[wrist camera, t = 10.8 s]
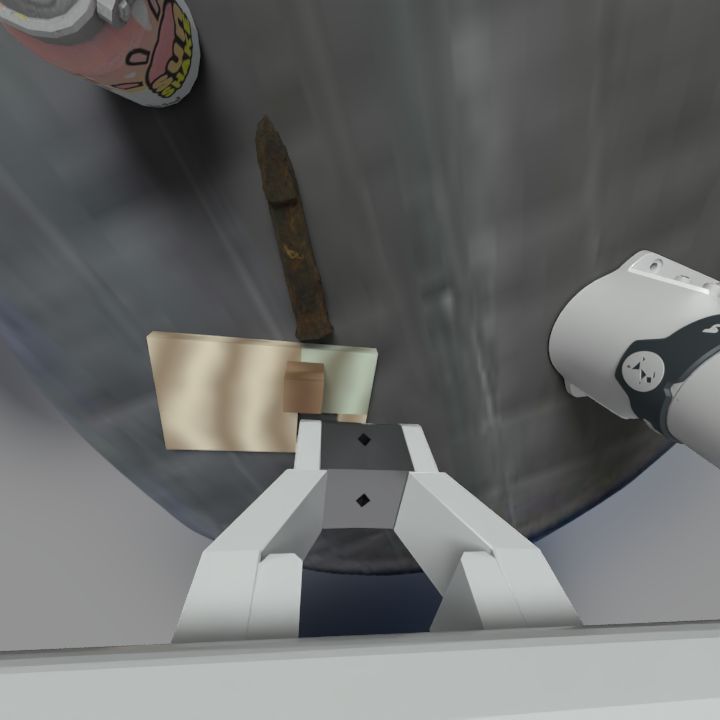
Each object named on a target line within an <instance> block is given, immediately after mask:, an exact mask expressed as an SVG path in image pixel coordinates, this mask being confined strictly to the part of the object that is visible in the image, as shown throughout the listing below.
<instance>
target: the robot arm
mask: <svg viewBox="0 0 720 720" xmlns="http://www.w3.org/2000/svg"><path fill="white" fill-rule="evenodd" d="M651 264H652V265H651ZM549 354H550V359H551V362H552V364H553V366H554V367H555V368H556V370H557V371H558V372H559V373H560V374H561V375H562V376H563V378H564V380H565V386H566V390H567V392H568V393H570V394H571V395H573V396H574V397H585V396H589V397H590V398H592V399H593V400H595V401H596V402H598V403H599V404H601V405H602V406H604V407H605V408H607V409H608V410H610V411H611V412H613V413H615V414H616V415H618V416H619V417H621V418H624V419H629V418H632V419H637V418H639V419H641V420H642V421H644V422H645V423H646V424H647V425H648V426H649V427H650V428H651V429H653V430H654V431H656V432H657V433H659V434H662V435H663V436H665V437H667V438H668V439H670V440H672V441H673V442H676V443H680V444H685V445H686V446H688V447H689V448H690V449H692V450H693V451H695V452H696V453H697V454H699V455H700V456H702V457H703V458H705V459H706V460H707V461H709V462H710V463H712V464H713V465H715V466H716V467H717V468H719V469H720V282H719V281H717V280H715V279H712V278H710V277H708V276H706V275H703V274H701V273H699V272H697V271H694V270H692V269H690V268H687V267H685V266H683V265H681V264H678V263H676V262H674V261H672V260H669V259H667V258H665V257H663V256H660V255H658V254H656V253H653V252H650V251H647V250H643V251H640V252H638V253H636V254H635V255H634V256H632V257H631V258H630V259H629V260H628V261H626V262H625V263H624V264H623V265H622V266H621V267H620V268H619V269H617V270H616V271H614V272H612V273H610V274H608V275H606V276H604V277H602V278H600V279H598V280H596V281H594V282H592V283H591V284H589V285H588V286H586V287H585V288H584V289H582V290H581V291H580V292H579V293H578V294H577V295H575V296H574V297H573V298H572V299H571V301H570V302H569V303H568V304H567V305H566V306H565V308H564V309H563V310H562V312H561V313H560V315H559V317H558V318H557V320H556V322H555V324H554V327H553V329H552V332H551V336H550V341H549ZM326 528H391V529H394V531H395V533H396V534H397V535H398V537H399V538H400V539H401V541H402V542H403V544H404V545H405V546H406V548H407V549H408V550H409V552H410V553H411V554H412V556H413V557H414V558H415V560H416V561H417V563H418V564H419V565H420V567H421V568H422V569H423V571H424V572H425V573H426V575H427V576H428V577H429V579H430V580H431V582H432V583H433V584H434V586H435V587H436V588H437V589H438V591H439V592H440V594H441V595H442V596H443V600H442V602H441V605H440V607H439V609H438V611H437V614H436V616H435V618H434V621H433V623H432V625H431V627H430V632H423V633H401V634H379V635H357V636H335V637H313V638H298V630H299V612H300V596H301V578H302V562H303V560H304V559H305V557H306V555H307V554H308V552H309V551H310V549H311V547H312V546H313V544H314V542H315V541H316V539H317V537H318V536H319V534H320V533H321V530H322V529H326ZM0 720H720V620H699V621H677V622H656V623H634V624H633V623H632V624H611V625H610V624H608V625H585V626H584V625H583V623H582V621H581V620H580V618H579V616H578V615H577V613H576V611H575V610H574V608H573V606H572V604H571V602H570V601H569V599H568V598H567V596H566V594H565V592H564V590H563V589H562V587H561V585H560V584H559V582H558V580H557V578H556V577H555V575H554V573H553V572H552V570H551V568H550V566H549V565H548V563H547V561H546V559H545V558H544V556H543V554H542V553H541V551H540V549H538V548H537V547H536V546H535V545H534V544H532V543H531V542H530V541H529V540H527V539H526V538H525V537H524V536H523V535H521V534H520V533H519V532H518V531H516V530H515V529H514V528H513V527H511V526H510V525H509V524H508V523H507V522H505V521H504V520H503V519H502V518H500V517H499V516H498V515H497V514H495V513H494V512H493V511H492V510H491V509H489V508H488V507H487V506H486V505H484V504H483V503H482V502H481V501H479V500H478V499H477V498H476V497H475V496H473V495H472V494H471V493H470V492H468V491H467V490H466V489H465V488H463V487H462V486H461V485H460V484H459V483H457V482H456V481H455V480H454V479H452V478H451V477H450V476H449V475H448V474H446V473H441V472H439V471H438V468H437V466H436V463H435V461H434V458H433V455H432V453H431V450H430V448H429V445H428V443H427V440H426V438H425V435H424V433H423V430H422V428H421V426H420V425H419V424H399V425H398V424H374V423H356V422H341V421H326V420H322V423H321V420H305V419H301V420H300V423H299V431H298V439H297V447H296V456H295V464H294V469H287V470H286V471H285V472H284V473H283V474H282V475H281V476H280V477H279V478H278V479H277V480H276V481H275V482H274V483H273V484H271V485H270V486H269V487H268V488H267V489H266V490H265V491H264V492H263V493H262V494H261V495H260V496H259V497H258V498H257V499H256V500H255V501H254V502H253V503H252V504H251V505H250V506H249V507H248V508H247V509H246V510H245V511H244V512H243V513H242V514H241V515H240V516H239V517H238V518H237V519H236V520H235V521H234V522H233V523H232V524H231V525H230V526H229V527H228V528H227V529H226V530H225V531H224V532H223V533H222V534H221V535H220V536H219V537H218V538H217V539H216V540H215V541H213V542H212V544H210V545H209V546H208V547H207V548H206V549H205V550H204V551H203V553H202V556H201V559H200V562H199V565H198V568H197V571H196V573H195V576H194V579H193V582H192V585H191V588H190V590H189V593H188V596H187V599H186V602H185V605H184V608H183V611H182V613H181V616H180V619H179V622H178V625H177V628H176V631H175V633H174V636H173V639H172V642H171V644H153V645H131V646H110V647H109V646H108V647H87V648H86V647H85V648H64V649H41V650H18V651H0Z"/></svg>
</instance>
